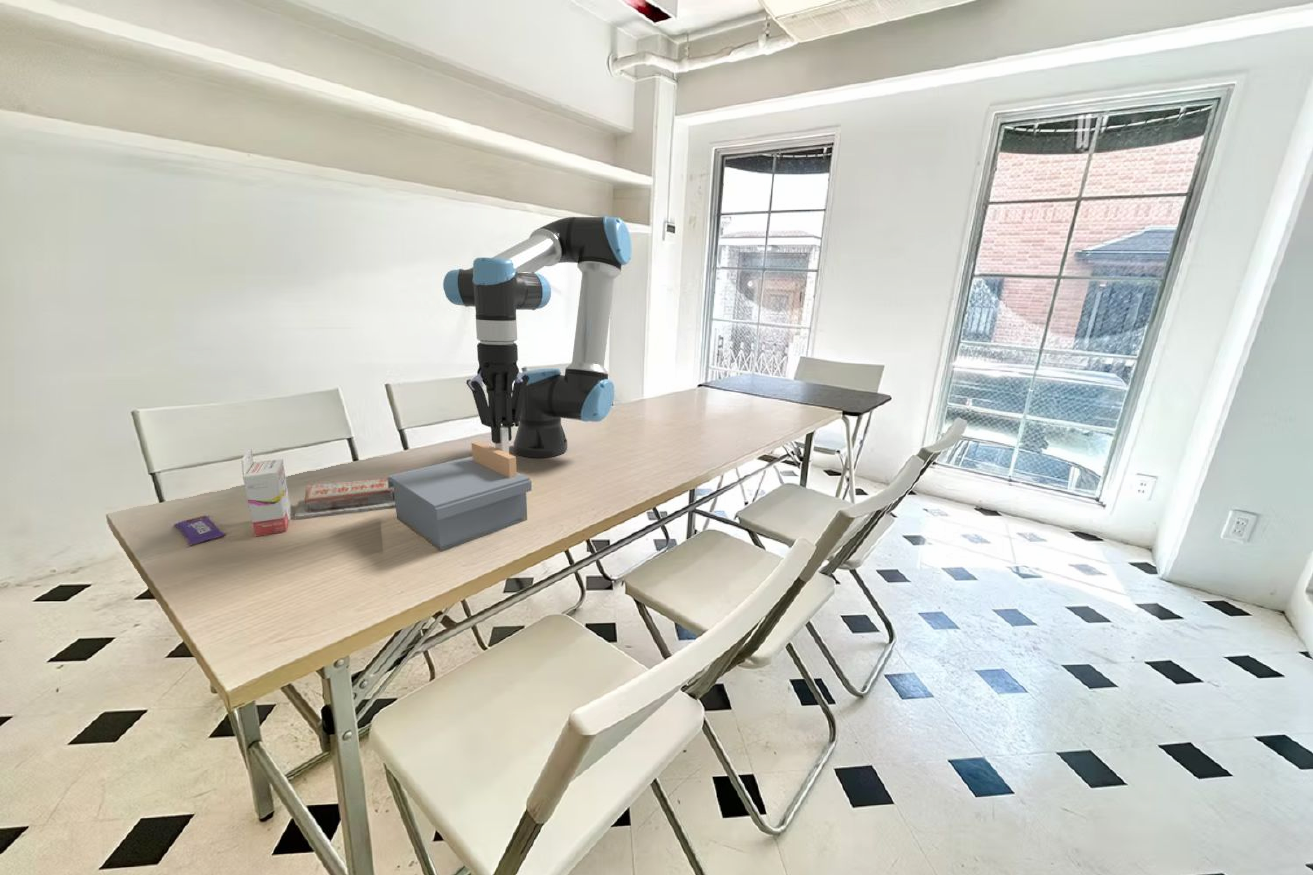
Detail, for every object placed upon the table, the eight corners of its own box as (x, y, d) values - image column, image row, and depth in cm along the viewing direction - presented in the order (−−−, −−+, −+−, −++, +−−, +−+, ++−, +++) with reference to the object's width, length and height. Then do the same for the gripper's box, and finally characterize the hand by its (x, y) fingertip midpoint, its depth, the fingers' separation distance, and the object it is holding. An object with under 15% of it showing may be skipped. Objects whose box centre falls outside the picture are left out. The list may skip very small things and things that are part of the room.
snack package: (224, 529, 89) (187, 540, 86) (227, 539, 90) (190, 550, 86) (207, 510, 96) (172, 519, 92) (209, 519, 97) (174, 529, 93)
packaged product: (398, 471, 111) (395, 488, 103) (400, 491, 113) (397, 510, 104) (302, 480, 104) (290, 499, 96) (306, 501, 106) (294, 522, 97)
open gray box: (480, 494, 112) (477, 460, 110) (527, 520, 101) (525, 483, 99) (397, 518, 99) (392, 481, 97) (440, 551, 88) (436, 510, 86)
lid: (477, 464, 111) (475, 436, 109) (531, 490, 99) (530, 459, 97) (388, 487, 97) (384, 455, 96) (437, 520, 85) (434, 484, 83)
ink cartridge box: (288, 531, 92) (274, 456, 88) (254, 537, 90) (238, 460, 86) (293, 513, 100) (280, 443, 95) (262, 518, 97) (247, 446, 93)
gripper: (515, 338, 104) (518, 446, 111) (455, 341, 95) (463, 459, 101) (536, 342, 99) (539, 454, 106) (476, 345, 90) (483, 468, 97)
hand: (502, 456), depth 104 cm, fingers closed
